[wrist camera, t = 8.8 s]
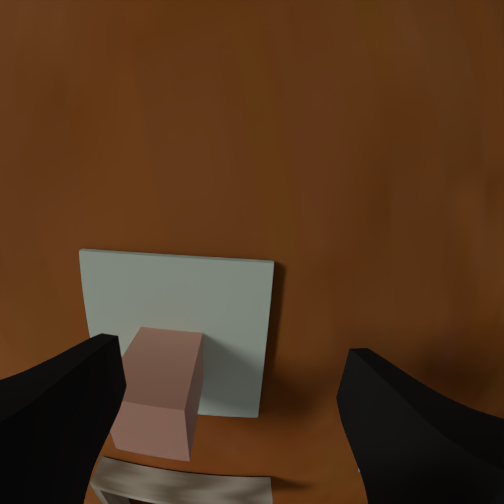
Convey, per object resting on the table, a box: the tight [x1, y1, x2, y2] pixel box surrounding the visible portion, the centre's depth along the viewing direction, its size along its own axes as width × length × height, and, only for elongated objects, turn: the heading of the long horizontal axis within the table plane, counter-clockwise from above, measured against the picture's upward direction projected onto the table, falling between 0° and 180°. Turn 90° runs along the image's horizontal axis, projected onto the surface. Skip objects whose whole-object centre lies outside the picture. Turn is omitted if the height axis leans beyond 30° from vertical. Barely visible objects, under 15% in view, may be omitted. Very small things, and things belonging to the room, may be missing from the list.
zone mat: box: [79, 249, 274, 417], centre depth 19 cm, size 12×12×1 cm
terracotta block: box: [110, 327, 203, 461], centre depth 15 cm, size 4×4×7 cm
